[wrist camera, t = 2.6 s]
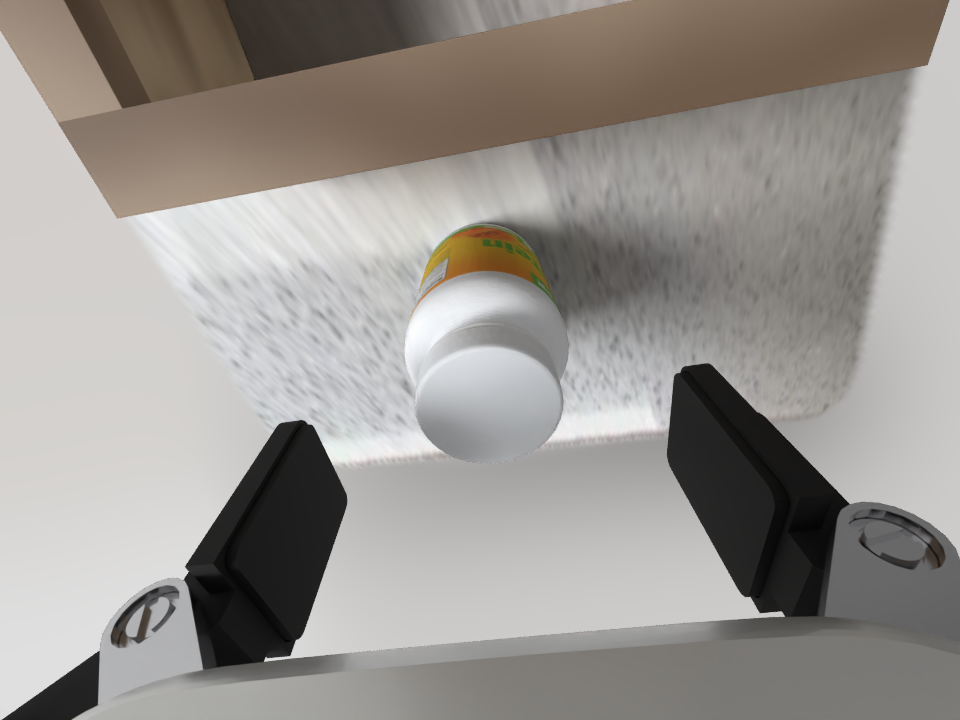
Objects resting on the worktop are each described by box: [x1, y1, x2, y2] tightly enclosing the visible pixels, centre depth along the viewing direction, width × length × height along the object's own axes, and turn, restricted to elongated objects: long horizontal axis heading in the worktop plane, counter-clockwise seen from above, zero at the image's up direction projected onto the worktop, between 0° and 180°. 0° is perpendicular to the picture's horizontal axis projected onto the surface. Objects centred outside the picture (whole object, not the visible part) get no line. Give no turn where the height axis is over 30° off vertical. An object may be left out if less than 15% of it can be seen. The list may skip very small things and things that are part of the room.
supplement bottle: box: [405, 224, 569, 464], centre depth 15 cm, size 5×5×10 cm
